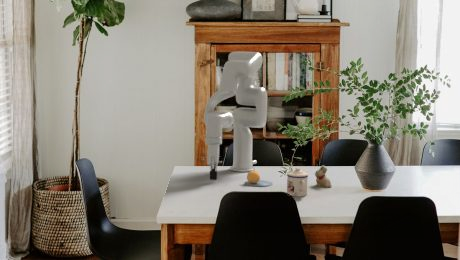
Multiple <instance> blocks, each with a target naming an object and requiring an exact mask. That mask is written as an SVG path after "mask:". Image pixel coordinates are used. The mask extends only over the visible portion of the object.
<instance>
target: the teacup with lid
mask: <svg viewBox="0 0 460 260" xmlns="http://www.w3.org/2000/svg"><path fill="white" fill-rule="evenodd" d="M286 177H287V181H286V183H287V184H286V190H287V191H286V194H287V193H289V194H291V195H292V196H291V197H305V196H307V194H308V179H309V178H308V177H309V174H308V173H307V172H305V171H304V170H301V168H300V167H296V168H295V169H293V170H291V171H288V172H287V174H286Z"/></svg>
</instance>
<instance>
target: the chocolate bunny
mask: <svg viewBox="0 0 460 260" xmlns="http://www.w3.org/2000/svg"><path fill="white" fill-rule="evenodd" d="M327 171H328V168H327V167H326V166H325V165H324V164H323V165H321V166H320V168H318V169H317V170H316V171H315V172H314V175H315V178H316V179H315V182H316V186H318V187H320V188H327V189H328V188H332V182H331V179H329V177H327V176H326V173H327Z"/></svg>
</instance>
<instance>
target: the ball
mask: <svg viewBox="0 0 460 260" xmlns="http://www.w3.org/2000/svg"><path fill="white" fill-rule="evenodd" d="M260 179H261V175H260V173H259V172H257V171H256V170H254V171H249V172H248V173H247V176H246V180H247V181H249V182H250V183H252V184H255V183H257V182H258V181H259V180H260Z"/></svg>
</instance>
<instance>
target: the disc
mask: <svg viewBox="0 0 460 260" xmlns="http://www.w3.org/2000/svg"><path fill="white" fill-rule="evenodd" d="M273 184H274V183H273V182H272V181H268V180H259V181H258V182H257V183H255V184H252V183H250V182H249V181H248V180H247V181H245V182H244V185H245V186H249V187H256V188H257V187H258V188H265V187H271V186H273Z"/></svg>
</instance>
